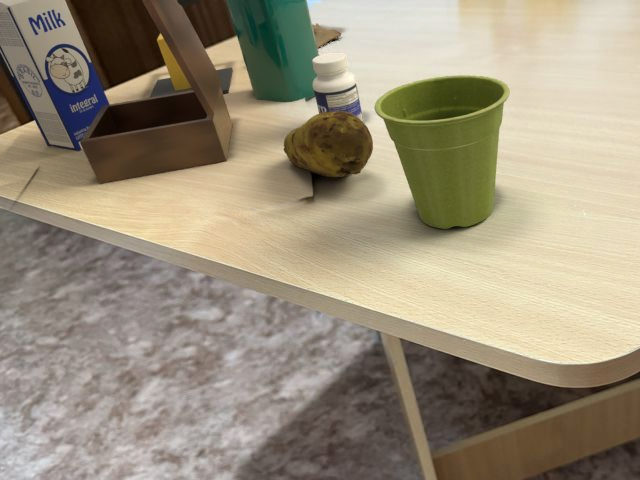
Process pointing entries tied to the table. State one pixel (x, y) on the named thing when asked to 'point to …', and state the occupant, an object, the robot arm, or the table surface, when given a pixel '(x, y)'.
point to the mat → (167, 88)
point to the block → (173, 67)
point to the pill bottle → (335, 85)
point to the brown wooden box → (156, 136)
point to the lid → (187, 50)
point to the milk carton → (51, 69)
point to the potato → (330, 144)
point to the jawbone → (324, 35)
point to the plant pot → (447, 144)
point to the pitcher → (276, 47)
